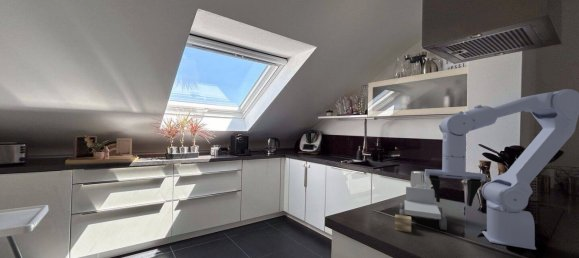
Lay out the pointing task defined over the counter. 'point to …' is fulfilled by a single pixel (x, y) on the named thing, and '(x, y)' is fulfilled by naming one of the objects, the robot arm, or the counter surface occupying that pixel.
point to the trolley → (422, 205)
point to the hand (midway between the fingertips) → (453, 203)
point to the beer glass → (420, 180)
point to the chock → (403, 223)
